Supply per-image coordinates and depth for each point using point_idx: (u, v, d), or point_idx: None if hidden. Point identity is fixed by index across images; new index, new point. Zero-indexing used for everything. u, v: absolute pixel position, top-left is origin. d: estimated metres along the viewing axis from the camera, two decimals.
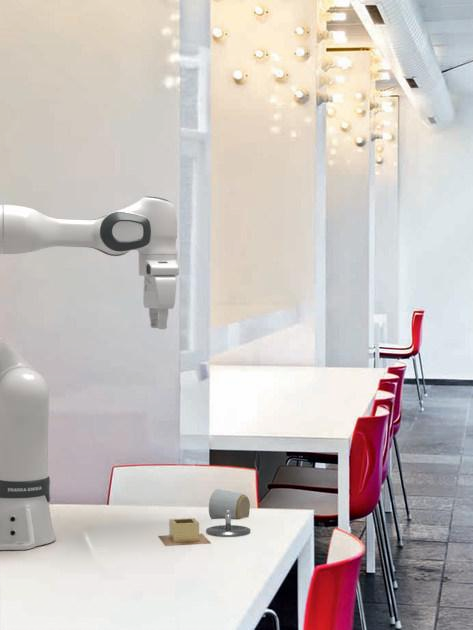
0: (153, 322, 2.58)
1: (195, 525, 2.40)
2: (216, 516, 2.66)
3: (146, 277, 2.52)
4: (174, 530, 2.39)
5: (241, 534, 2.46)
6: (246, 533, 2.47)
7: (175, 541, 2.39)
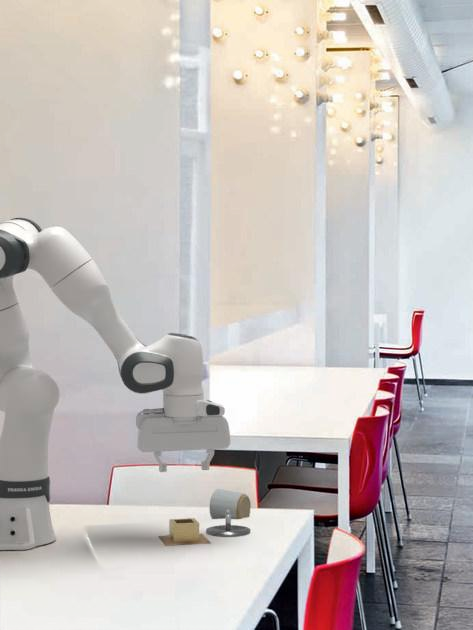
0: None
1: (195, 525, 2.40)
2: (217, 516, 2.67)
3: (191, 418, 2.39)
4: (174, 530, 2.39)
5: (241, 534, 2.46)
6: (246, 533, 2.47)
7: (175, 541, 2.39)
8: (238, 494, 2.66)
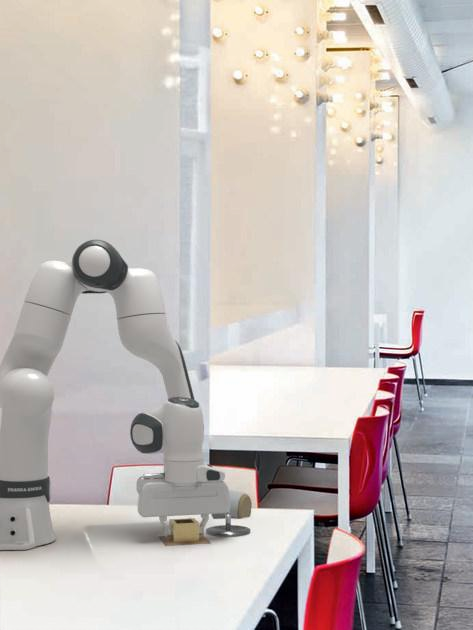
0: None
1: (195, 525, 2.40)
2: (218, 515, 2.67)
3: (191, 484, 2.40)
4: (174, 530, 2.39)
5: (241, 534, 2.46)
6: (246, 533, 2.47)
7: (175, 541, 2.39)
8: (239, 494, 2.67)
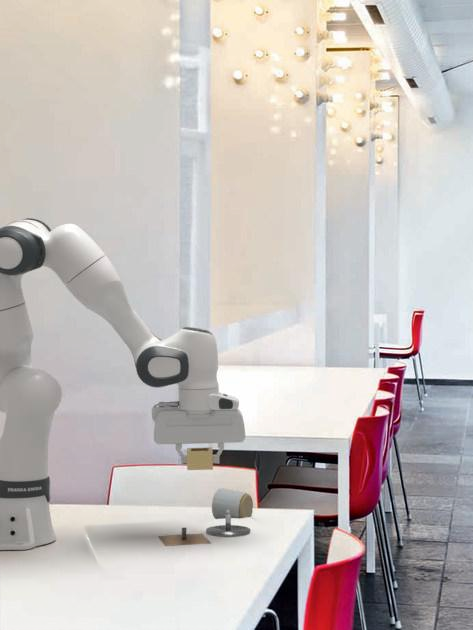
0: None
1: (209, 453, 2.41)
2: (219, 515, 2.68)
3: (204, 412, 2.41)
4: (187, 457, 2.41)
5: (241, 534, 2.46)
6: (246, 533, 2.47)
7: (188, 468, 2.41)
8: (240, 493, 2.67)
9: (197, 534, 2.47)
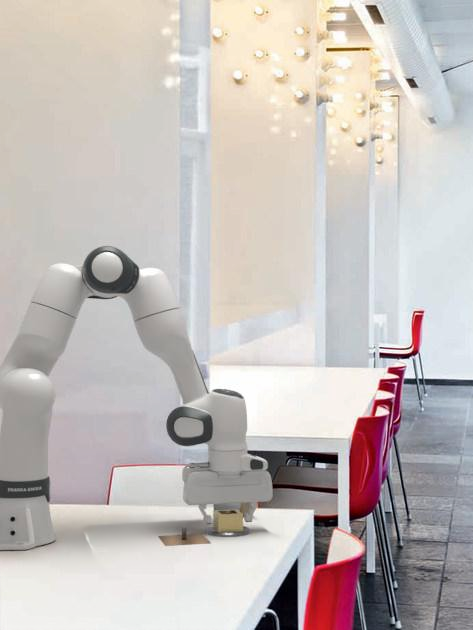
0: None
1: (239, 516, 2.47)
2: None
3: (235, 472, 2.47)
4: (219, 521, 2.46)
5: (241, 534, 2.46)
6: (246, 533, 2.47)
7: (220, 531, 2.46)
8: None
9: (197, 534, 2.47)
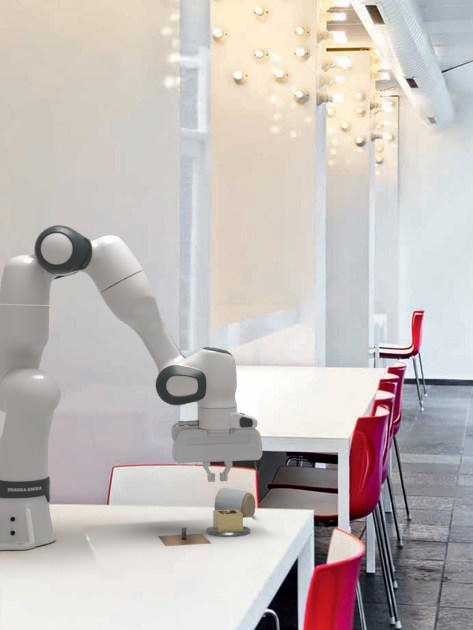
0: None
1: (239, 516, 2.47)
2: None
3: (225, 430, 2.46)
4: (219, 521, 2.46)
5: (241, 534, 2.46)
6: (246, 533, 2.47)
7: (220, 531, 2.46)
8: (243, 492, 2.68)
9: (197, 534, 2.47)
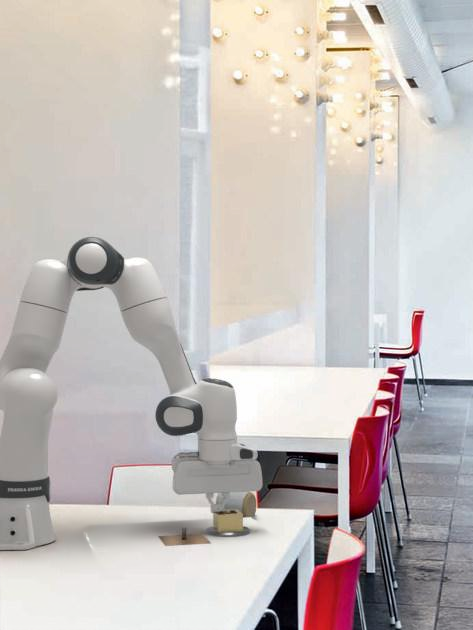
0: None
1: (239, 516, 2.47)
2: None
3: (225, 462, 2.46)
4: (219, 521, 2.46)
5: (241, 534, 2.46)
6: (246, 533, 2.47)
7: (220, 531, 2.46)
8: (244, 492, 2.69)
9: (197, 534, 2.47)
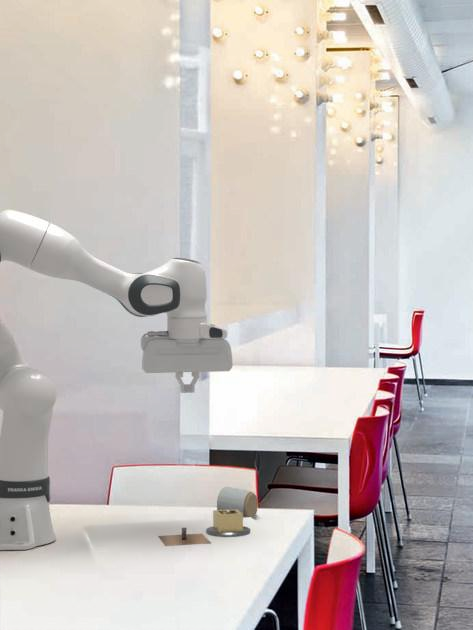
0: None
1: (239, 516, 2.47)
2: None
3: (194, 340, 2.45)
4: (219, 521, 2.46)
5: (241, 534, 2.46)
6: (246, 533, 2.47)
7: (220, 531, 2.46)
8: (245, 492, 2.69)
9: (197, 534, 2.47)
